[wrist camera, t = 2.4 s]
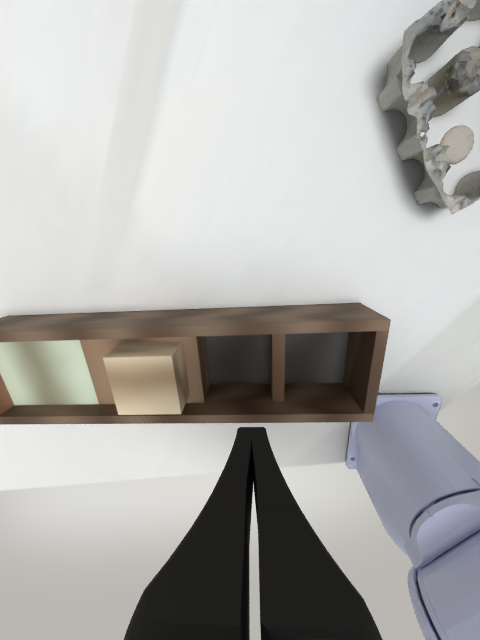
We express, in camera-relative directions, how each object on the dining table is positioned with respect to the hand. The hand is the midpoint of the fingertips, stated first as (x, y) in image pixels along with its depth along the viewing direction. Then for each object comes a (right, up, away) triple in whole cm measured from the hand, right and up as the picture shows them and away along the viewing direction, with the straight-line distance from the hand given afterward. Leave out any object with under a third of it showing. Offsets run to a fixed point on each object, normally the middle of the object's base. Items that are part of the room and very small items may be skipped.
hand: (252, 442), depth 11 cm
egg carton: (+13, +20, +4) cm, 24 cm away
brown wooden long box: (-6, +3, +10) cm, 12 cm away
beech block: (-8, +2, +7) cm, 11 cm away
